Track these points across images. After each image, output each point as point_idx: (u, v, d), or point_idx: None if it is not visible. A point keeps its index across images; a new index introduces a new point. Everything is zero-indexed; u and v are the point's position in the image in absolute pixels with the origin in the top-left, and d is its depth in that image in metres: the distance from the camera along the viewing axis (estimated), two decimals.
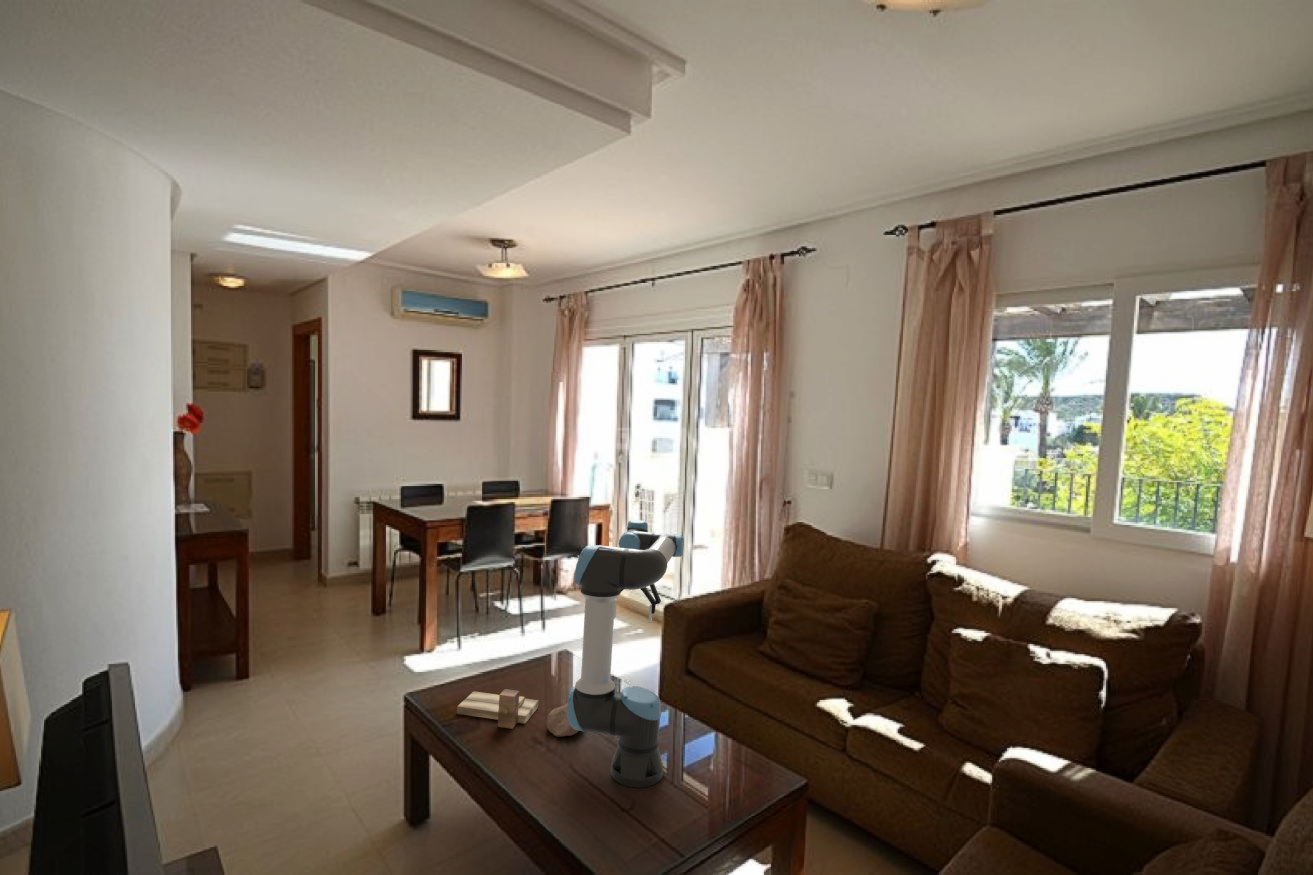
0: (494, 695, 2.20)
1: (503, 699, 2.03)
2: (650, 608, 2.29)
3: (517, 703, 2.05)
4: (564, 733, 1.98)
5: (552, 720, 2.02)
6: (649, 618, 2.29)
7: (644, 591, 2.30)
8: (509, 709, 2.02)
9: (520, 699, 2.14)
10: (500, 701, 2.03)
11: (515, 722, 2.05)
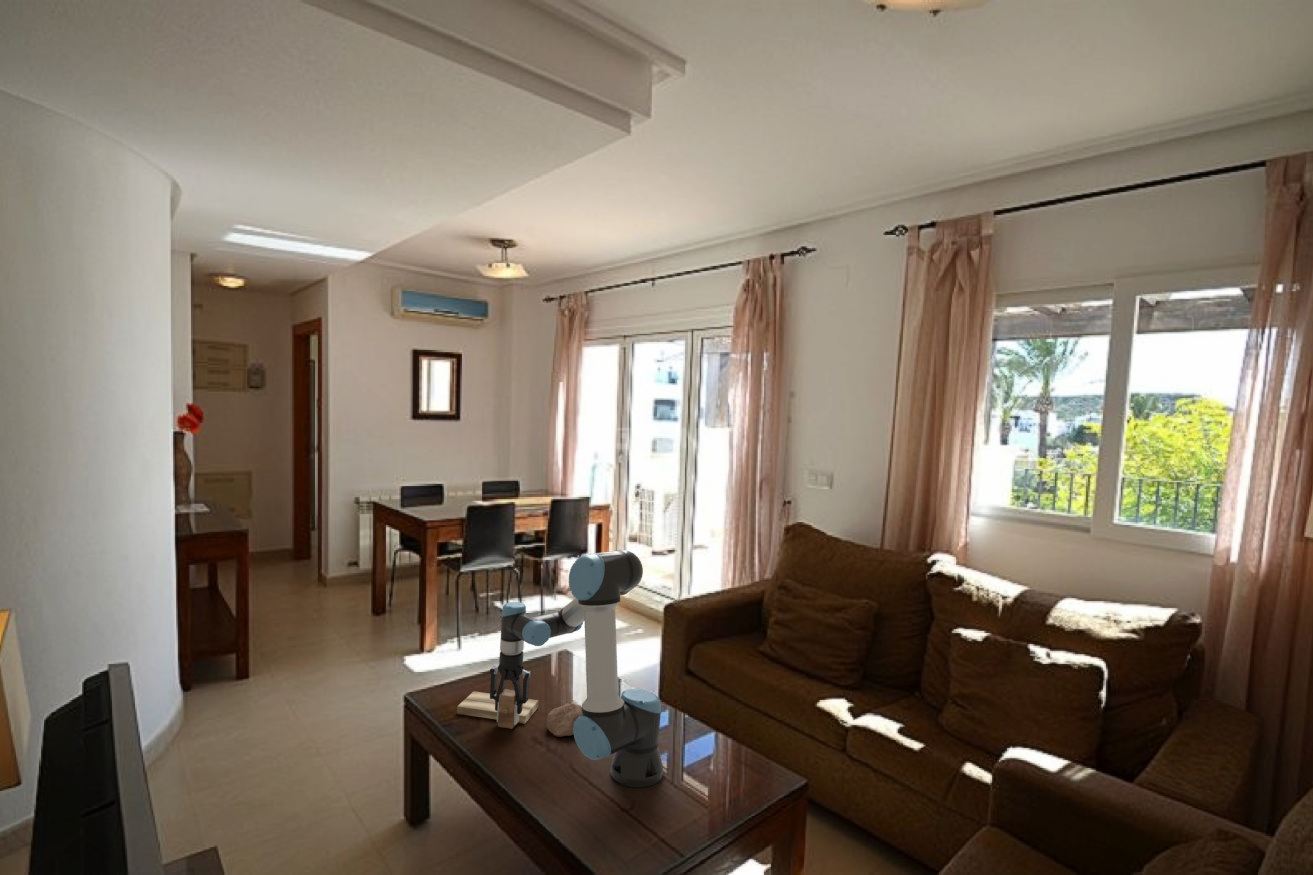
0: None
1: (503, 699, 2.03)
2: (515, 708, 2.03)
3: None
4: (564, 733, 1.98)
5: (552, 720, 2.02)
6: (514, 719, 2.03)
7: (515, 686, 2.03)
8: (509, 709, 2.02)
9: None
10: (500, 701, 2.03)
11: None
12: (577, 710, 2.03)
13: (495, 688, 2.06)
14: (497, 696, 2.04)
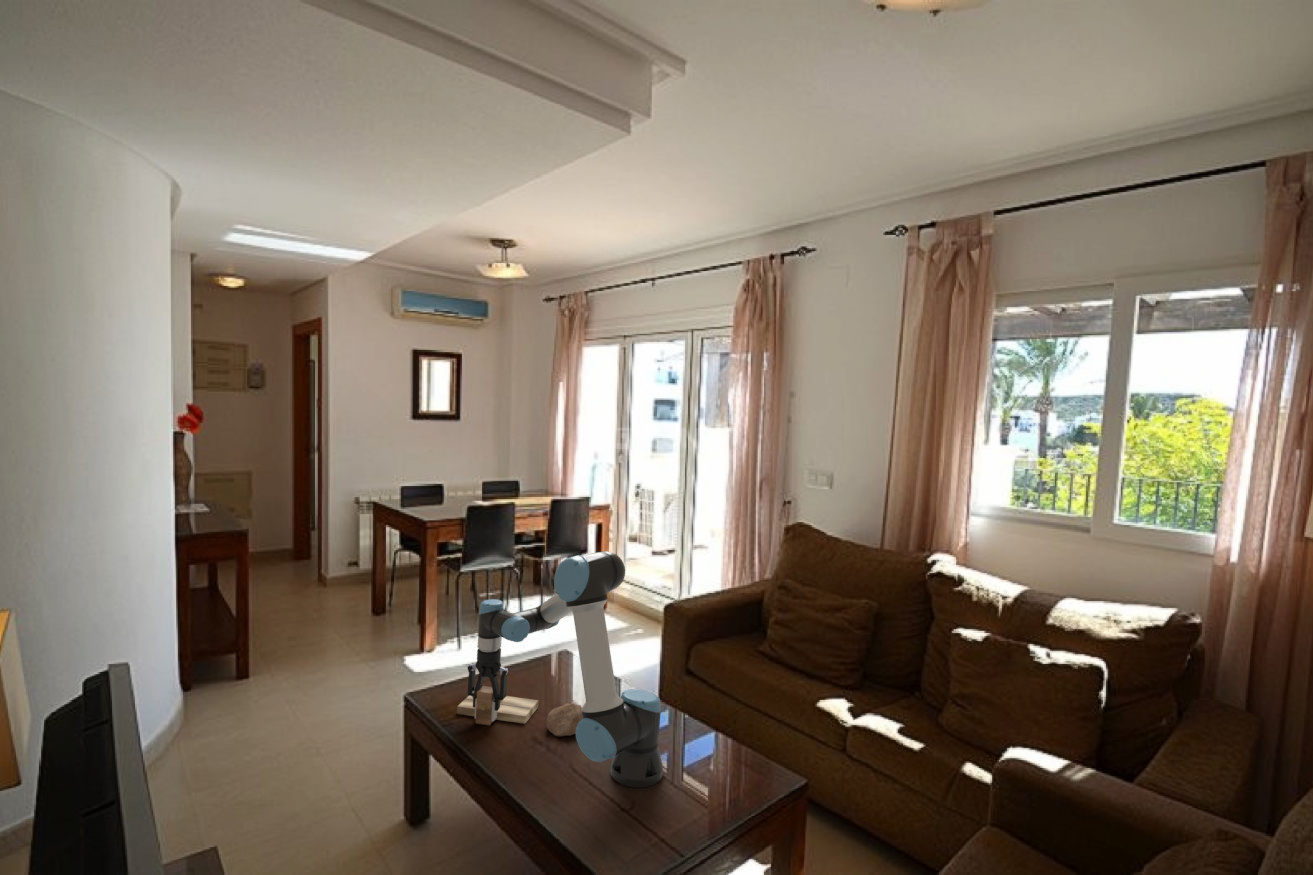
0: None
1: (480, 696, 2.04)
2: (493, 705, 2.04)
3: None
4: (565, 733, 1.98)
5: (552, 720, 2.02)
6: (492, 716, 2.04)
7: (493, 683, 2.04)
8: (487, 706, 2.04)
9: None
10: (478, 698, 2.04)
11: None
12: (577, 710, 2.03)
13: (473, 685, 2.07)
14: (475, 693, 2.05)
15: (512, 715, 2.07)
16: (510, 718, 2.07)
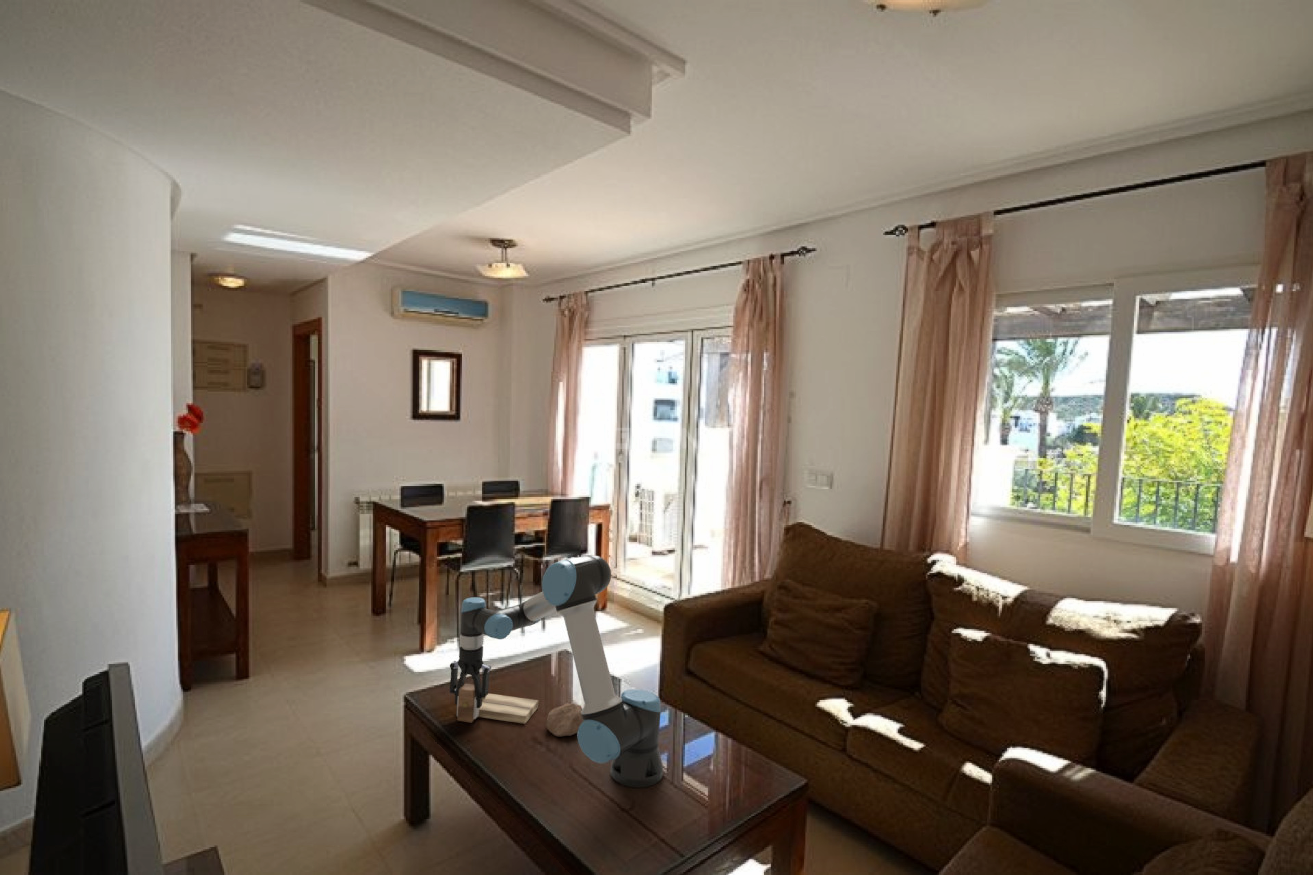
0: (494, 695, 2.20)
1: (462, 693, 2.05)
2: (475, 702, 2.05)
3: None
4: (565, 733, 1.98)
5: (552, 720, 2.02)
6: (474, 713, 2.05)
7: (475, 680, 2.05)
8: (468, 703, 2.05)
9: None
10: (460, 695, 2.05)
11: None
12: (577, 710, 2.03)
13: (455, 682, 2.08)
14: (457, 690, 2.06)
15: (512, 715, 2.07)
16: (510, 718, 2.07)
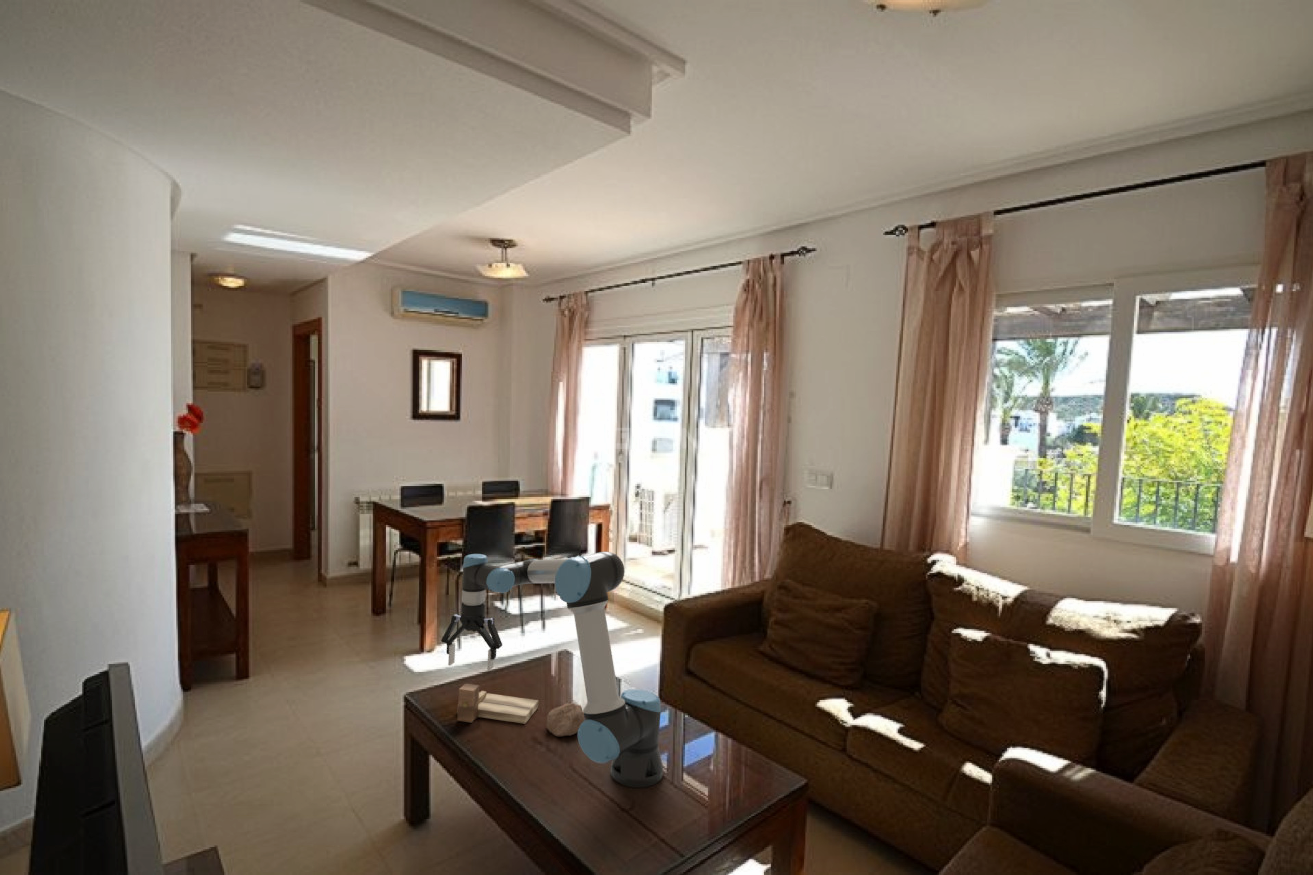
0: (494, 695, 2.20)
1: (462, 693, 2.05)
2: (489, 653, 2.04)
3: (477, 697, 2.08)
4: (565, 733, 1.98)
5: (552, 720, 2.02)
6: (488, 665, 2.04)
7: (482, 634, 2.04)
8: (468, 703, 2.05)
9: (481, 694, 2.17)
10: (460, 695, 2.05)
11: (475, 716, 2.07)
12: (577, 710, 2.03)
13: (449, 634, 2.08)
14: (450, 640, 2.06)
15: (512, 715, 2.07)
16: (510, 718, 2.07)
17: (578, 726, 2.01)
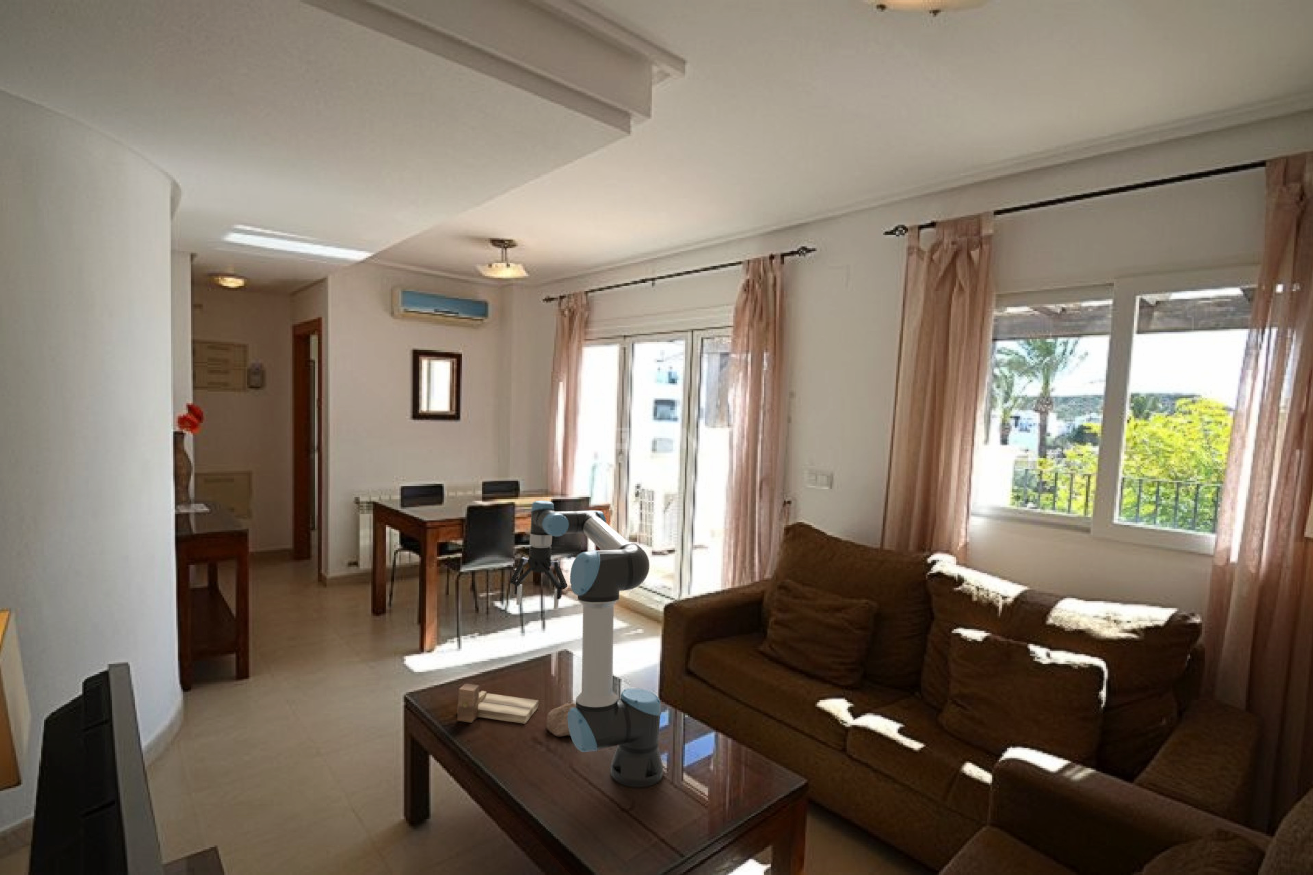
0: (494, 695, 2.20)
1: (462, 693, 2.05)
2: (555, 593, 2.17)
3: (477, 697, 2.08)
4: (565, 733, 1.98)
5: (552, 720, 2.02)
6: (554, 604, 2.17)
7: (549, 575, 2.18)
8: (468, 703, 2.05)
9: (481, 694, 2.17)
10: (460, 695, 2.05)
11: (475, 716, 2.07)
12: None
13: (517, 576, 2.21)
14: (518, 581, 2.20)
15: (512, 715, 2.07)
16: (510, 718, 2.07)
17: None
